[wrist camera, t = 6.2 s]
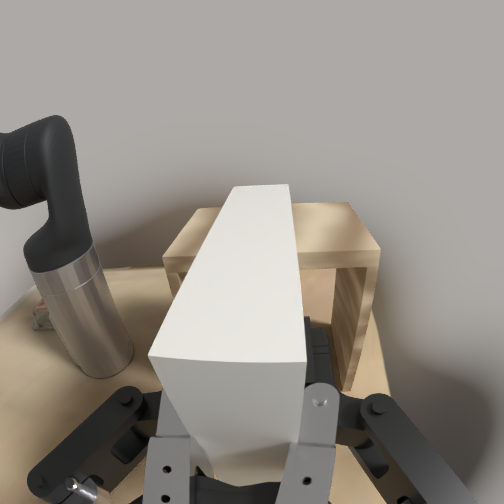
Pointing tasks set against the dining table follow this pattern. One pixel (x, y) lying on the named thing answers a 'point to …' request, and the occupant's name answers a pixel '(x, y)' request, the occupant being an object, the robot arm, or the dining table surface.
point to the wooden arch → (310, 267)
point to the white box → (239, 339)
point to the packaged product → (42, 317)
